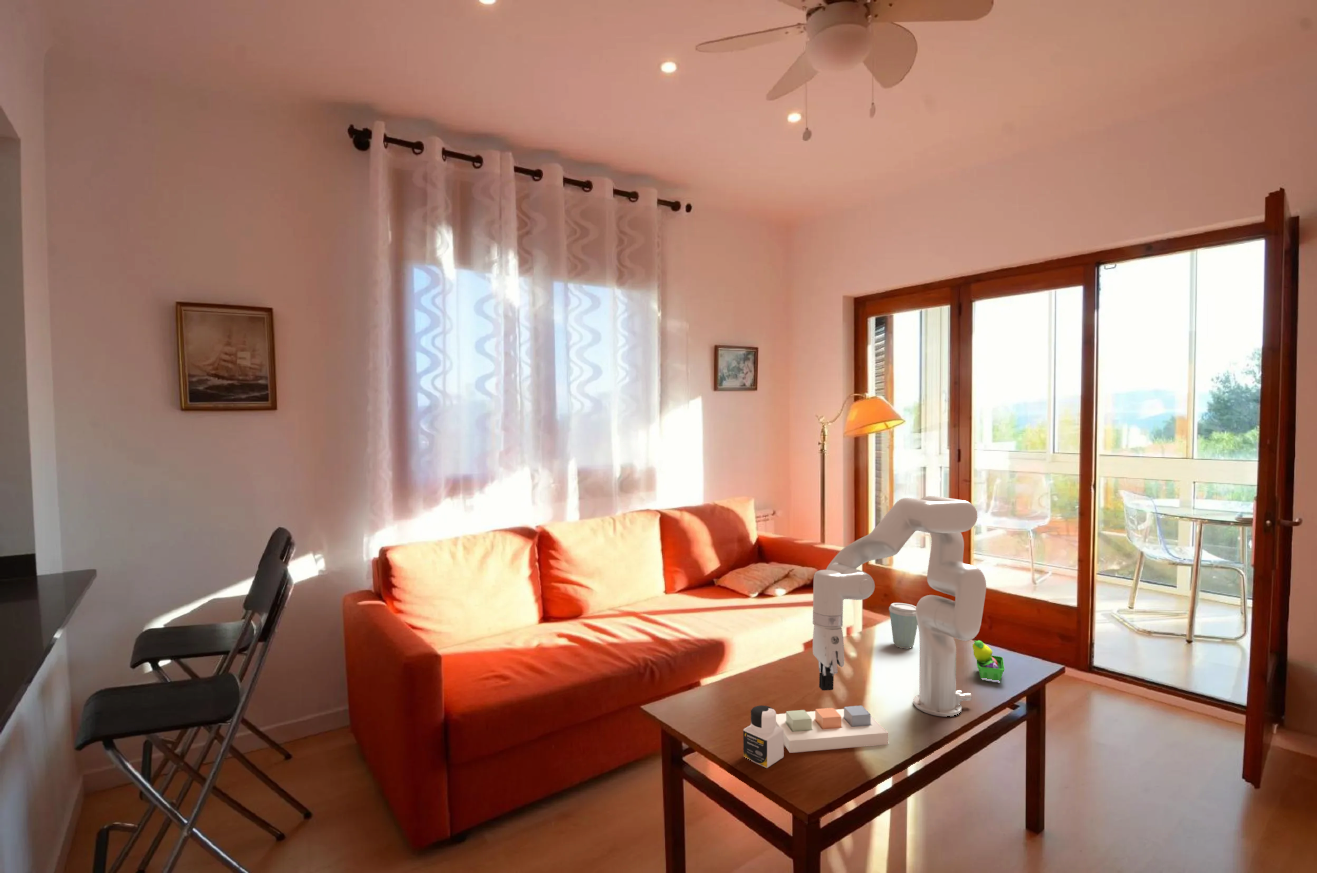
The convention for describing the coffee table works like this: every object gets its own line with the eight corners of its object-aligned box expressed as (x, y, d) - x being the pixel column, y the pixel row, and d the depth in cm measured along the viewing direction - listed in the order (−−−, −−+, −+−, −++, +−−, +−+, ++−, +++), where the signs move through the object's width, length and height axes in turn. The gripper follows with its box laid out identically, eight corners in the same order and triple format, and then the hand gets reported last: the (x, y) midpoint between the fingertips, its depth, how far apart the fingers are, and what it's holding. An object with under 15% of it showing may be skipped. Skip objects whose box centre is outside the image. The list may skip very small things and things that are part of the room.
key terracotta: (833, 722, 167) (833, 707, 167) (841, 731, 162) (841, 716, 162) (815, 724, 167) (815, 709, 166) (822, 733, 162) (822, 718, 161)
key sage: (804, 724, 166) (804, 709, 166) (811, 734, 161) (811, 718, 161) (786, 726, 165) (786, 711, 165) (792, 735, 160) (792, 720, 160)
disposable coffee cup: (898, 638, 235) (898, 598, 234) (926, 646, 227) (926, 605, 226) (882, 645, 228) (883, 604, 228) (911, 654, 220) (911, 611, 219)
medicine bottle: (742, 757, 154) (742, 709, 153) (760, 746, 159) (760, 699, 158) (766, 769, 149) (766, 718, 148) (784, 757, 154) (784, 708, 153)
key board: (862, 718, 173) (862, 707, 173) (888, 744, 159) (888, 732, 159) (771, 725, 170) (771, 714, 169) (789, 752, 156) (789, 740, 156)
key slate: (861, 720, 168) (861, 705, 168) (870, 729, 163) (870, 714, 163) (843, 721, 168) (843, 706, 168) (852, 730, 163) (852, 715, 163)
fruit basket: (1004, 686, 193) (1005, 649, 193) (972, 681, 197) (972, 645, 197) (1002, 672, 204) (1002, 637, 203) (972, 667, 207) (972, 634, 207)
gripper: (854, 627, 157) (852, 700, 157) (829, 610, 171) (828, 677, 172) (825, 628, 156) (824, 702, 156) (803, 610, 170) (801, 678, 171)
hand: (826, 688), depth 164 cm, fingers closed
